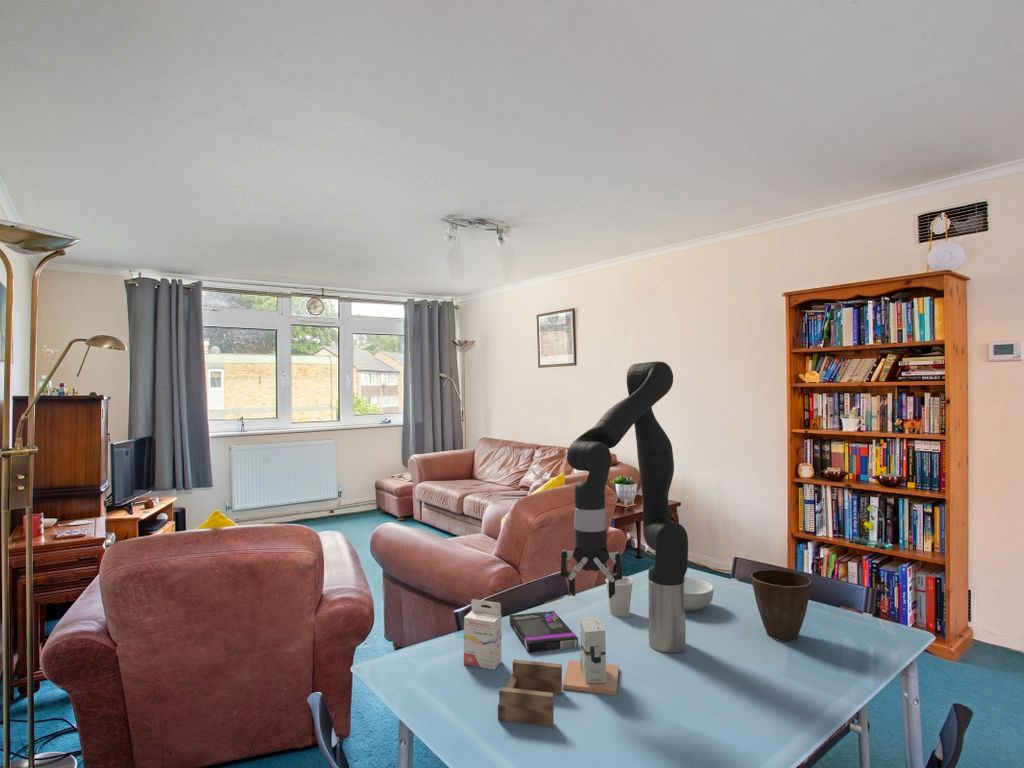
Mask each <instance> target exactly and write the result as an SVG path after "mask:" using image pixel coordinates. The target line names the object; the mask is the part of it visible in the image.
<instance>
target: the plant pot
mask: <svg viewBox="0 0 1024 768" xmlns="http://www.w3.org/2000/svg"><path fill="white" fill-rule="evenodd" d="M750 578H751V582H752V583H751V584H752V589H753V593H754V598H755V602H756V606H757V609H758V612H759V616H760V619H761V621H762V624H763V626H764V629H765V632H766V634H767V636H768V635H769V636H770V637H769V636H768V637H769V638H771V637H772V638H771V639H773V638H775V639H774V640H776V639H778V640H777V641H779V640H782V641H781V642H794V641H796V640H797V638H798V636H799V634H800V632H801V629H802V627H803V626H802V625H803V623H804V620H805V617H806V613H807V609H808V606H809V605H808V604H809V600H810V593H811V583H812V581H811V579H810V578H809V577H808V576H805V575H802V574H801V573H797V572H794V571H793V572H792V571H789V570H781V569H780V570H779V569H760V570H755V571H753V572H752V573H751V577H750ZM793 640H794V641H793Z"/></svg>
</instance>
